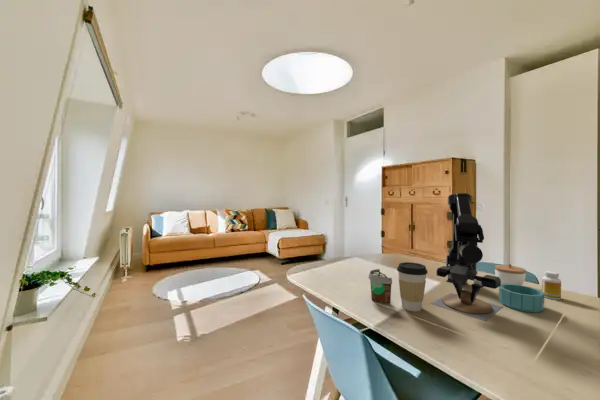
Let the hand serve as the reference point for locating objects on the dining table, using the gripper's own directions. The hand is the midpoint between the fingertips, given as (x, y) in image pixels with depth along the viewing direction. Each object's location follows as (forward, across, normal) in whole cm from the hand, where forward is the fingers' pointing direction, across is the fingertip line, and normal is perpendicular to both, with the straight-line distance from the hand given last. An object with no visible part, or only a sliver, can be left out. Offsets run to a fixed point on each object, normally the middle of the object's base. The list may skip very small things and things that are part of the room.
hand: (466, 300), depth 95 cm
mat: (+2, 0, 0) cm, 2 cm away
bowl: (+2, +12, +15) cm, 19 cm away
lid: (+2, 0, 0) cm, 2 cm away
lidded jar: (+2, +3, +39) cm, 39 cm away
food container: (+2, -23, -20) cm, 31 cm away
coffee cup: (+2, -11, -17) cm, 20 cm away
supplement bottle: (+2, +17, +35) cm, 39 cm away
